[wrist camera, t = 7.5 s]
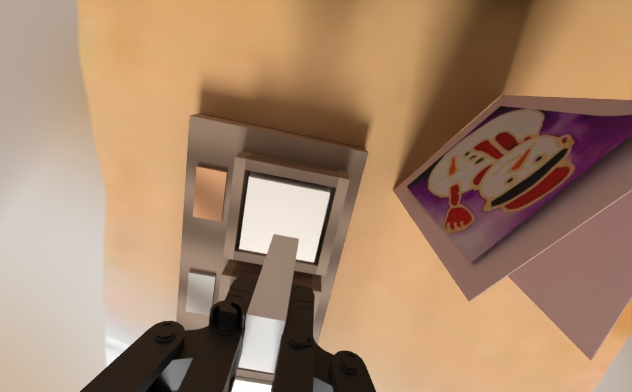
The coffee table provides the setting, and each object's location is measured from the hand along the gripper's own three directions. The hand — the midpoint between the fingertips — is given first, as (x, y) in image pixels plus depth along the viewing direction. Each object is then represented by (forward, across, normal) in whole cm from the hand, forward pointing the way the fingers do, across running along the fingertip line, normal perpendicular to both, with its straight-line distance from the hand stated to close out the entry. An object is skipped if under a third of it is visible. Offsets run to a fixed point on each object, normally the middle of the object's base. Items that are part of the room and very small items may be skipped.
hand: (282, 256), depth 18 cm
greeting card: (+11, +14, +6) cm, 18 cm away
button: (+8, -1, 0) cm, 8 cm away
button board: (+10, -2, -10) cm, 15 cm away
